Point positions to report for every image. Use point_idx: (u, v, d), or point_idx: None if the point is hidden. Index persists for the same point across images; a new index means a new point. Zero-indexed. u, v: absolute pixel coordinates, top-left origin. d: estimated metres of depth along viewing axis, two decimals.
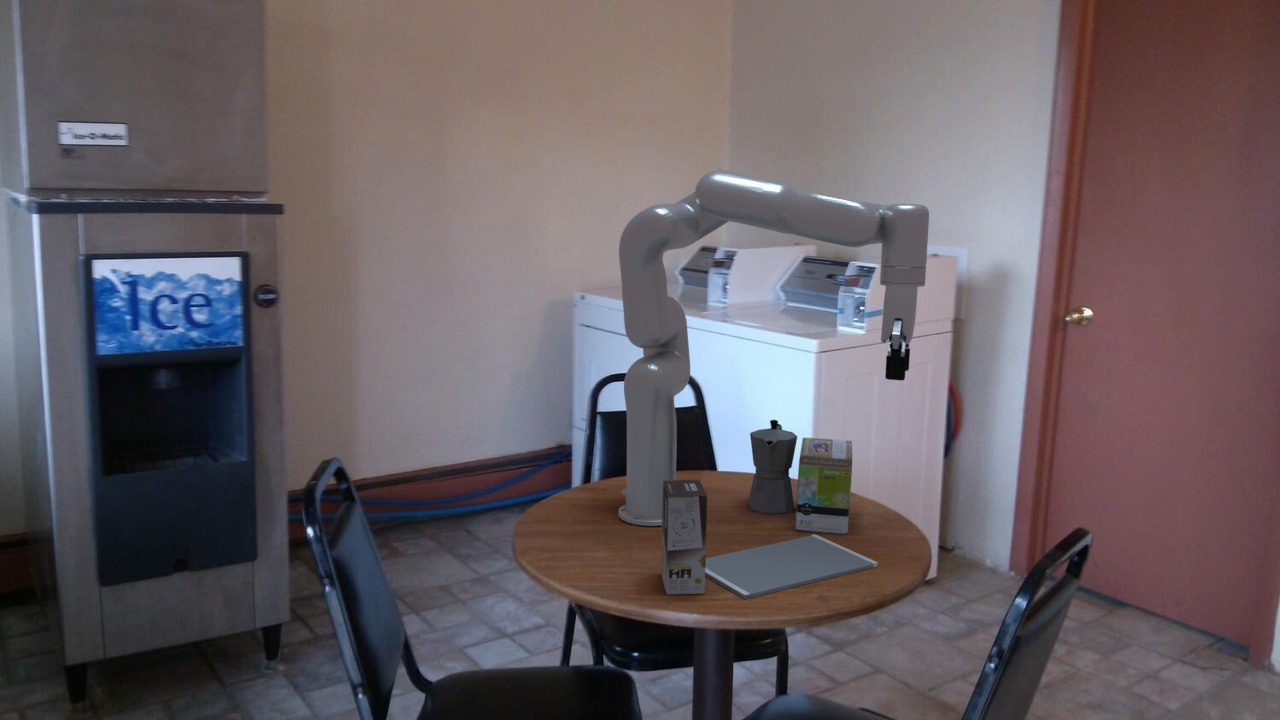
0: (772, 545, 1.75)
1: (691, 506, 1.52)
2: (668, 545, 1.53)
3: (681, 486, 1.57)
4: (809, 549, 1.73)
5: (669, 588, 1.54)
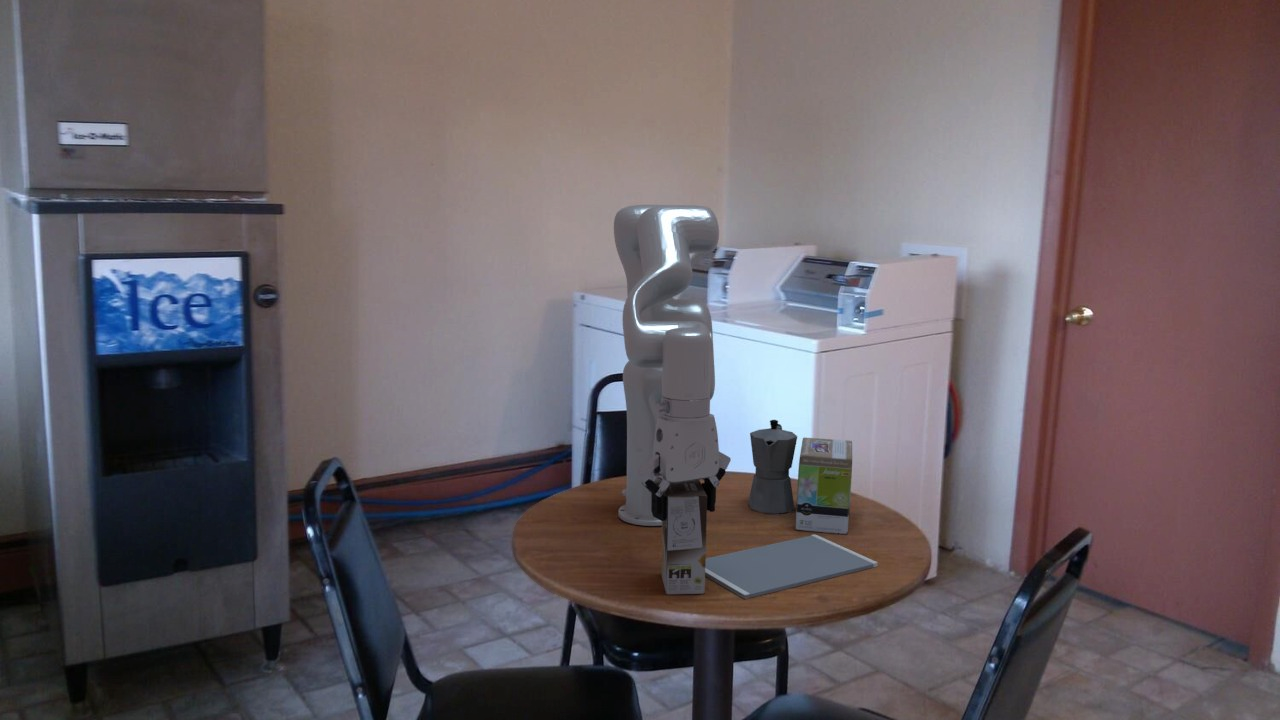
0: (772, 545, 1.75)
1: (691, 506, 1.52)
2: (668, 545, 1.53)
3: (681, 486, 1.57)
4: (809, 549, 1.73)
5: (669, 588, 1.54)
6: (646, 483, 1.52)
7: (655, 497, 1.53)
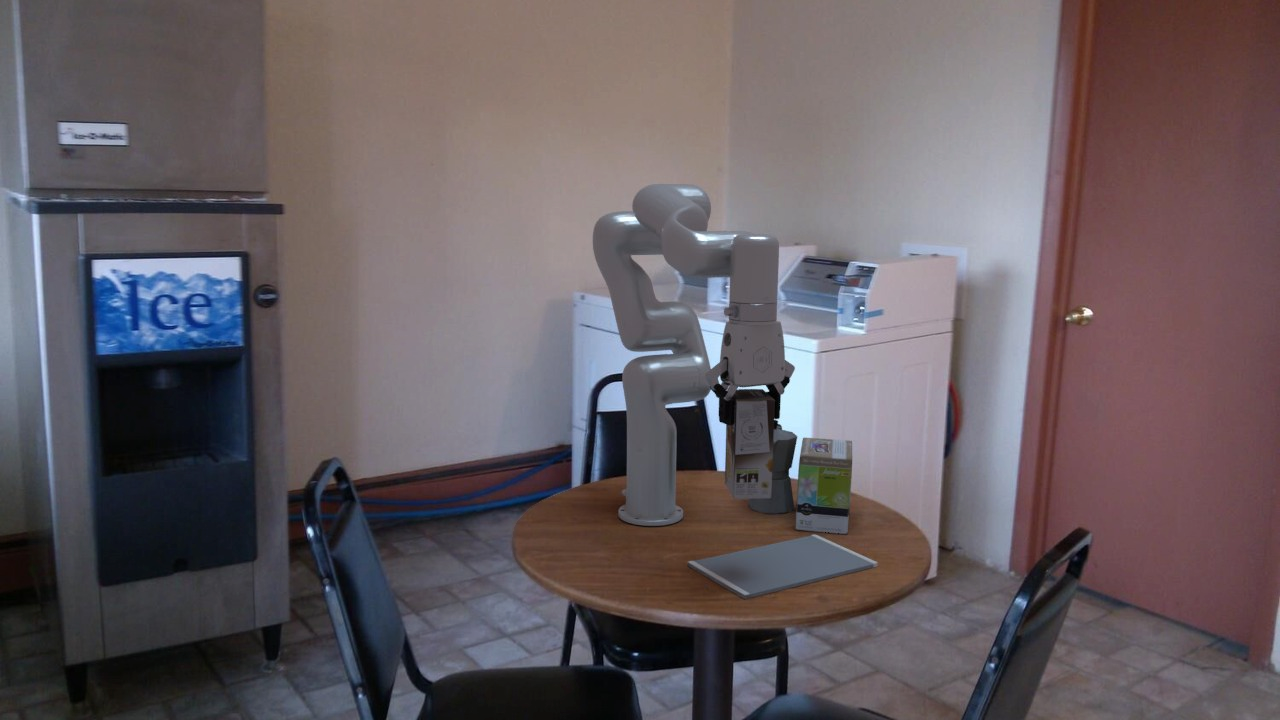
0: (772, 545, 1.75)
1: (759, 410, 1.54)
2: (736, 449, 1.55)
3: (747, 393, 1.58)
4: (809, 549, 1.73)
5: (737, 492, 1.56)
6: (715, 387, 1.53)
7: (722, 401, 1.55)
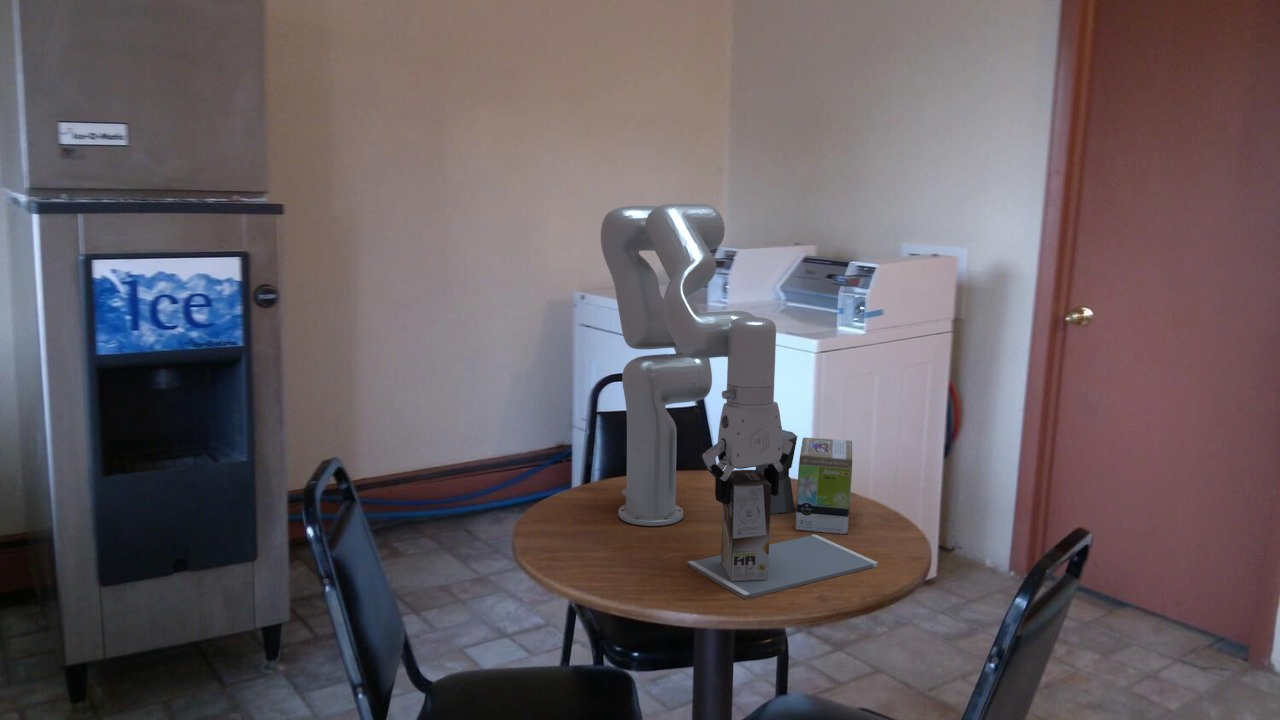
0: (772, 545, 1.75)
1: (756, 495, 1.57)
2: (733, 533, 1.57)
3: (743, 475, 1.61)
4: (809, 549, 1.73)
5: (734, 575, 1.58)
6: (711, 467, 1.55)
7: (719, 481, 1.57)
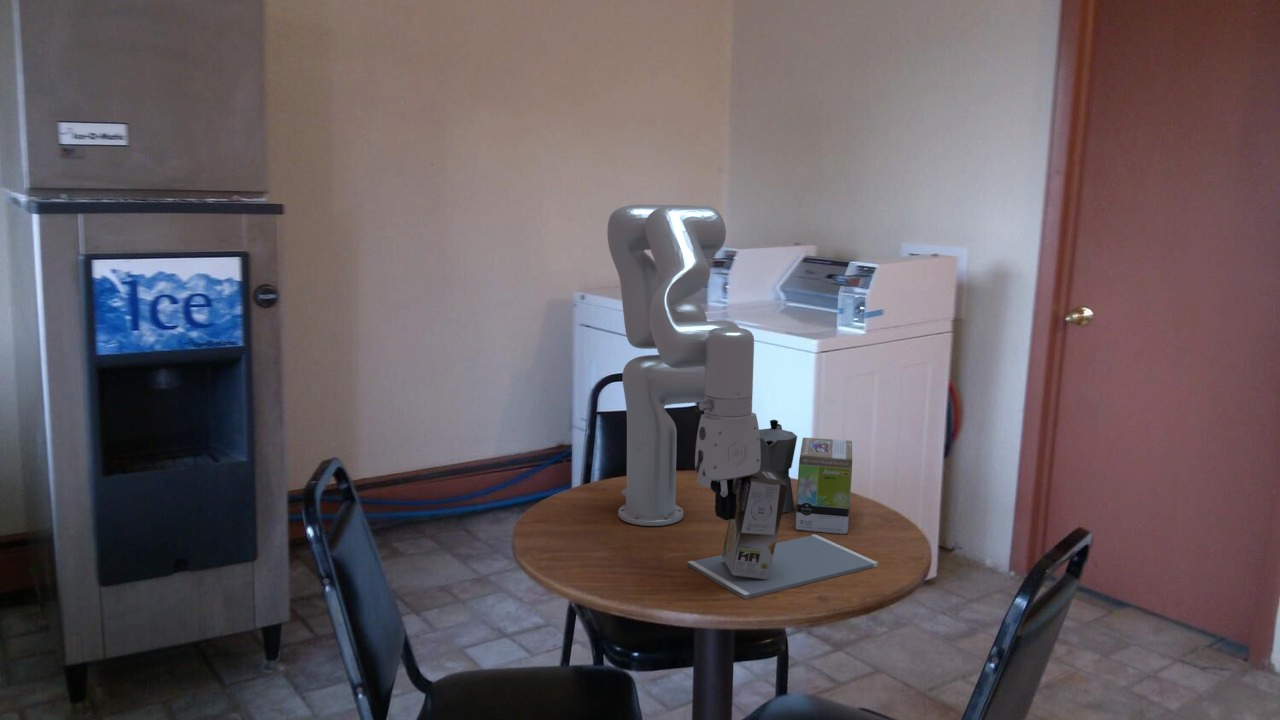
0: None
1: (771, 493, 1.57)
2: (743, 527, 1.57)
3: (760, 473, 1.61)
4: (809, 549, 1.73)
5: (736, 569, 1.58)
6: (711, 486, 1.56)
7: (719, 497, 1.57)
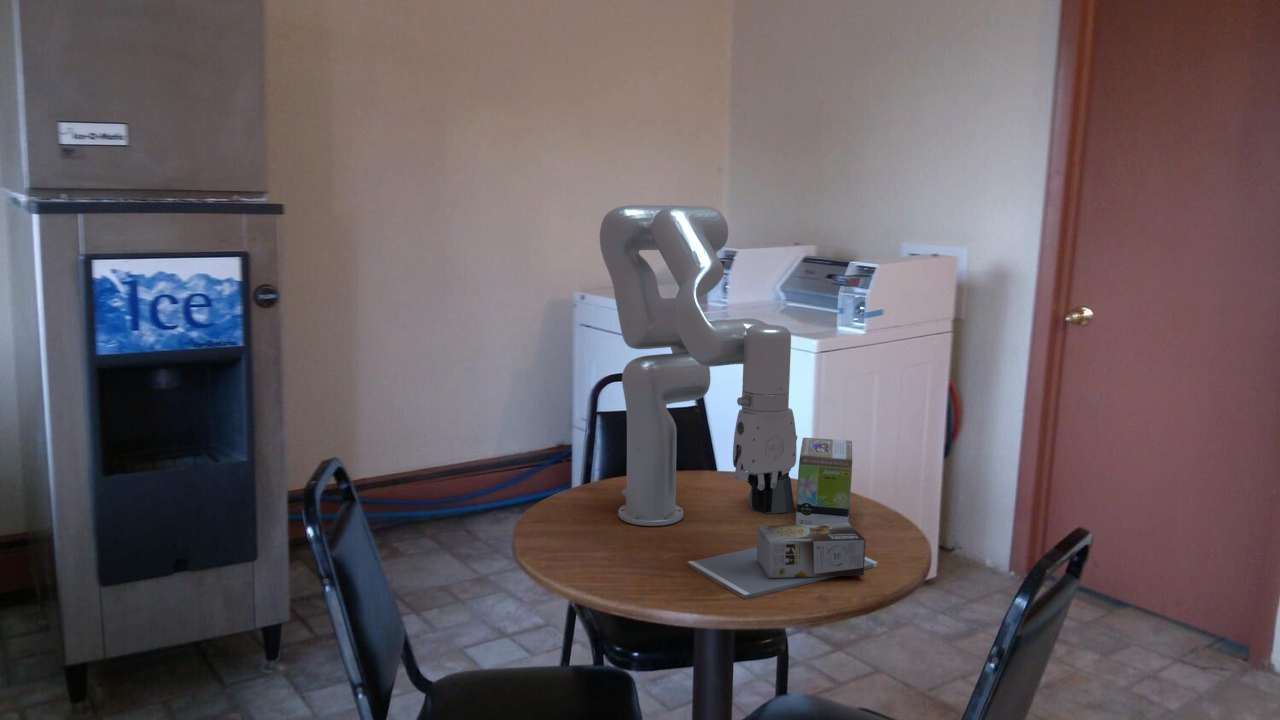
0: None
1: (854, 561, 1.60)
2: (818, 542, 1.59)
3: None
4: None
5: (776, 545, 1.58)
6: (749, 480, 1.60)
7: (756, 490, 1.61)
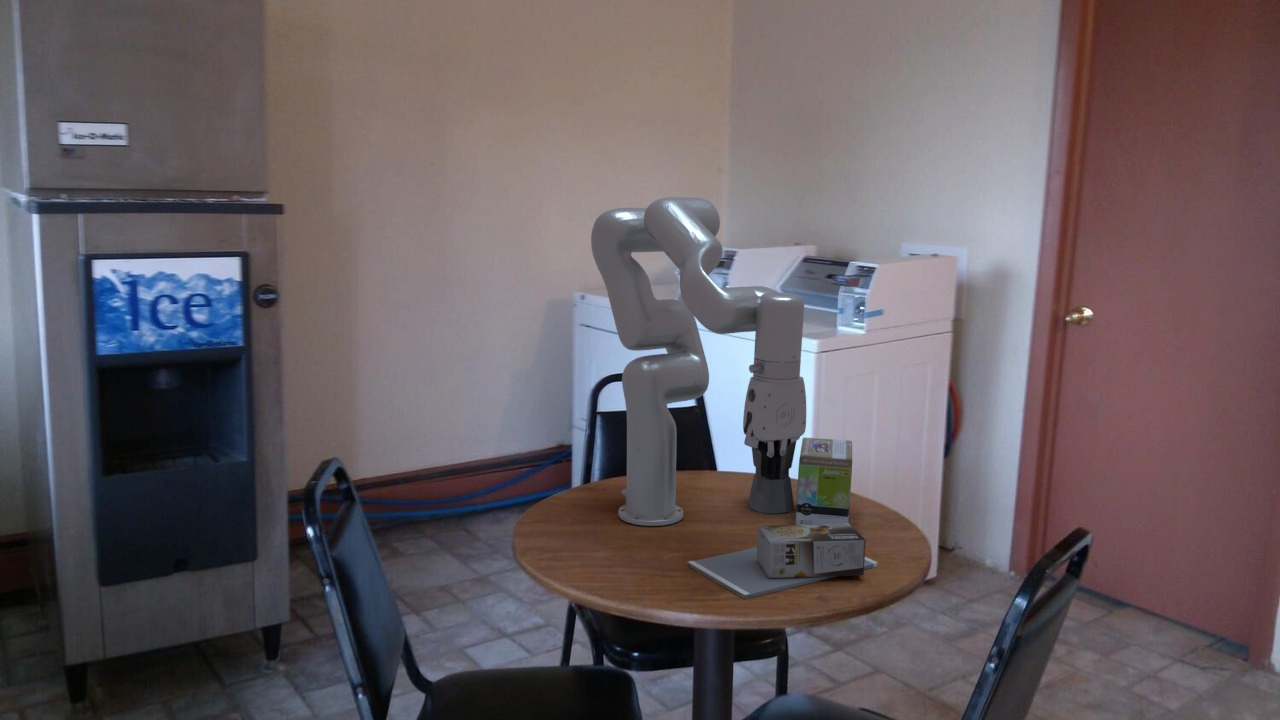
0: None
1: (854, 561, 1.60)
2: (818, 542, 1.59)
3: None
4: None
5: (776, 545, 1.58)
6: (759, 447, 1.60)
7: (765, 457, 1.62)
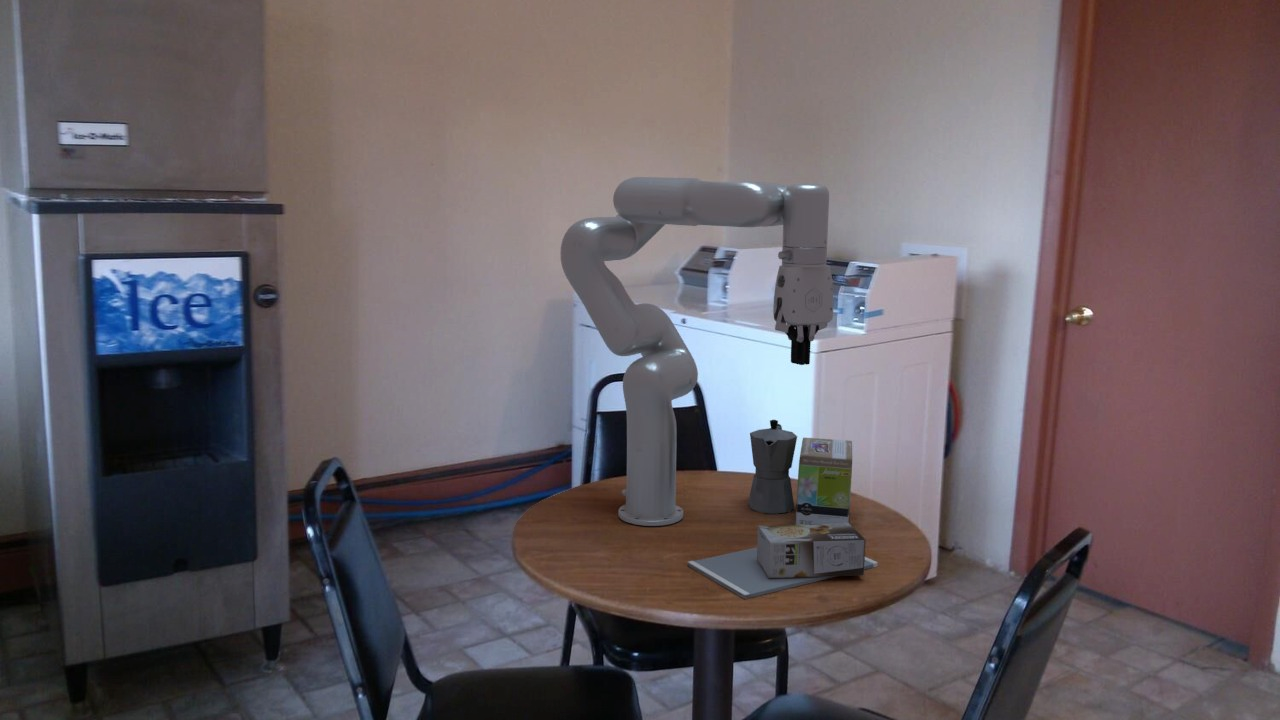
0: None
1: (854, 561, 1.60)
2: (818, 542, 1.59)
3: None
4: None
5: (776, 545, 1.58)
6: (789, 332, 1.68)
7: (795, 343, 1.70)
